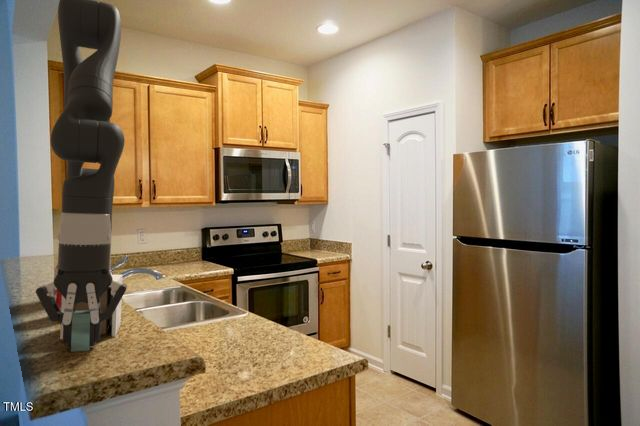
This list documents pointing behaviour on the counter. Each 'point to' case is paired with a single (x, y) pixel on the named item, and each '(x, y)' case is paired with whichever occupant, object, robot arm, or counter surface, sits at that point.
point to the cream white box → (116, 316)
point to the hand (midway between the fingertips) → (81, 345)
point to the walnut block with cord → (87, 323)
